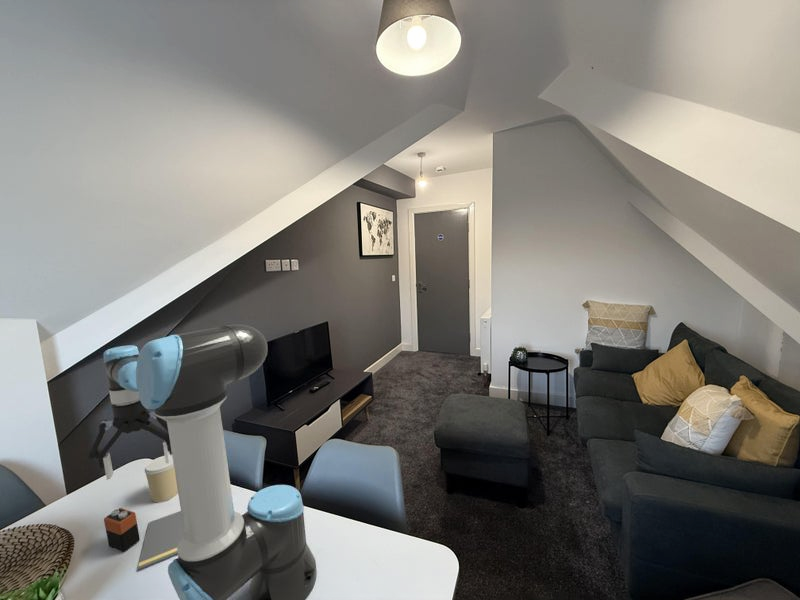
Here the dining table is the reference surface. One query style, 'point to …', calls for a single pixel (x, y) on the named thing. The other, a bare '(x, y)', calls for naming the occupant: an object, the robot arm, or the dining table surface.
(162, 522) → the book
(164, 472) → the coffee cup
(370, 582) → the dining table surface
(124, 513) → the battery
